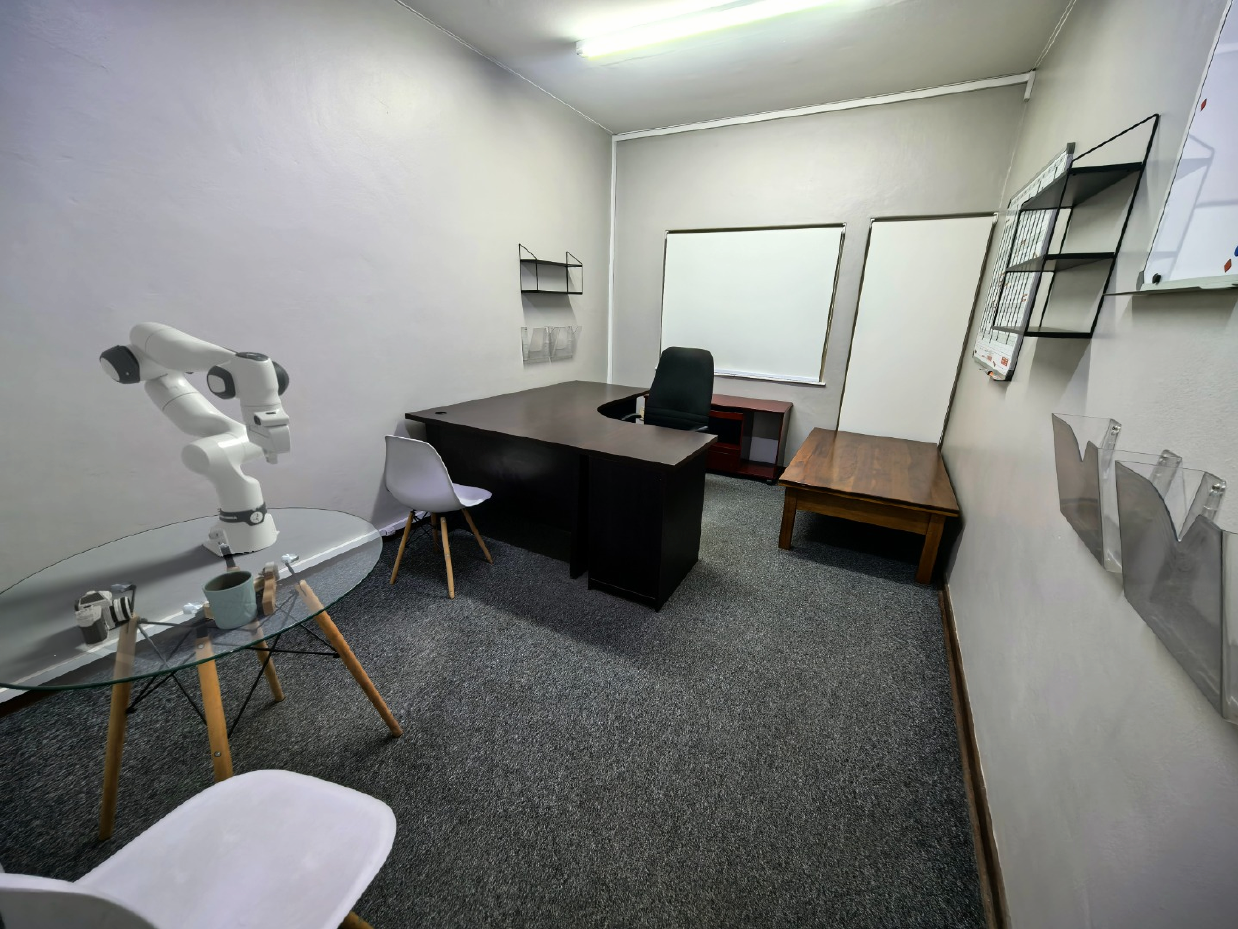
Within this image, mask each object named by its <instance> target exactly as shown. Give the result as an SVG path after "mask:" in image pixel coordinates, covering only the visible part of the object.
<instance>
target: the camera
mask: <svg viewBox="0 0 1238 929" xmlns="http://www.w3.org/2000/svg"><path fill="white" fill-rule="evenodd" d="M112 598H113V594H112V592H111V591H109V590H98V591H95V590H89V591H87V592H86V593H85V595H83V596H82V597H80V598H79V599H76V600H74V604H73V606H74V611H75V612H74V616H75V618H76V619H77V623H78V625H79V629H80V631H81V633H82V636H83V639H84V641H85V645H86V646H87V647H96V646H98V645H101V644H103V643H106V642H107V641H108V640H109V632H110V630H112V629H115V628H116V623H120V622H122V621H126V620H130V619H132V618H134V615H133V616H132V614H131V613H132V612H133V613H134V610H133V606H132V603H131V600H130V597H128V596H123V597H119V598H117V599H112ZM131 617H132V618H131Z"/></svg>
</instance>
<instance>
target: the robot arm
mask: <svg viewBox="0 0 1238 929" xmlns="http://www.w3.org/2000/svg"><path fill="white" fill-rule="evenodd" d="M128 336H129V341H130V342H128V343H124V344H121V345H119V344H117V345H115V346H112V347H110V348H108V349H105V350H104V351H102V352H101V354H100V355H99V363H100V365H101V367H102V370H103V372H105V374H106V375H108V377H110V378H111V379H112V380H113V381H115V382H117V383H120V384H122V385H131V384H139V383H140V382H144V385H143V386H144V391H145V393H146V394H147V396H148V397H149V399H150V400H151V401H152V402H153V404H154V405H155V406H156V408H158V410H159V411H161V413H162V414H163V415H165V417H167V419H168V420H170V421H171V422H172V423H173V425H175V426H176V428H178V429H179V430H180V431H181V432H183V433H184V434H185V435H186V434H187V435H189V436H193V437H199V439H197V440H194V441H191V442H190V443H188V444H186V445H184V446H183V447H182V449H181V454H180V458H181V461H182V464H183V465H184V466H185V467H186V469H187V470H189V471H190V472H192V473H195V474H197V475H200V476H203V477H204V478H206V480H208V481H209V482H210V483H211V485H212V486H213V488H214V491H215V493H216V495H217V499H218V502H219V507H220V508H217V509H216V511H217V513H219V514H218V515H219V516H218V517H219V518H218V520H217V521H216V522H215V523H214V524H213V525H211V527H210V528H209V533H208V535H207V536H208V539H206V540H204V541H203V542H202V546H203V547H205V549H208V550H209V551H211V552H213V554H216V556H219V557H221V552H220V549H219V547H218V546H219V545H221V544H222V543H224V544H227V546H229V547H230V548H231V549H232V550H233V552H249V553H253V552H252V551H254V552H256V551H260V550H263V549H266V548H268V547H270V546H272V545H274V543H275V542H276V541H277V539H278V534H279V533H280V530H277V528H276V525H275V521H274V519H273V516H272V514H270V513H268V508H267V505H266V502H265V501H264V498H263V493H262V489H261V484H260V482H259V480H257V479H256V478H255V477H252V476H250V475H247V474H246V475H245V474H244V472H243V471H242V469H241V466H243V465H245V464H249V463H251V462H256V461H258V460H260V459H261V458H264V457H265V461H266V463H267V464H270V465H277V464H278V463H279V459H278V456H279V455H282V454H287V453H290V452H291V450H292V440H291V431H290V428H289V424H291V420H290V419H291V418H290V416H289V415H288V414H287V413H286V411H285V410H284V408H283V405H282V400H281V398H280V396H282V395H283V394H284V393H285V392H286V391H287V389H288V388H289V385H290V376H289V374H288V372H287V371H286V369H284V368H283V367H282V365H280V364H279V363H277V361H274V360H272V359H271V358H270V357H269V356H268V355H266V354H263V353H262V352H261V353H260V352H253V351H252V352H251V351H241V352H238V351H235V350H233V349H230V348H227V347H224V346H223V347H222V346H221V345H217V344H214V343H211V342H208V341H205V340H202V339H200V338H198V337H194V336H193V335H190V334H188V333H186V332H184V331H181V330H179V329H177V328H174V327H173V326H169V325H167V324H163V323H159V322H155V321H142V322H140V323H137V324H135V325H134V326H133V327H132V328H131V329H130V331H129V335H128ZM199 372H200V373H201V372H202V373H203V372H205V373H206V372H207V374H206V383H207V387H208V389H209V391H210V392H211V393H212V394H213V395H214V396H216V397H217V398H220V399H221V400H224V401H225V400H226V401H237V400H239V406H240V412H241V415H242V421H243V423H245V424H243V423H242V422H239V421H237V420H235V419H232V418H231V417H229V416H227V415H225V413H223V412H222V411H220V410H219V409H218V408H216V407H215V405H213V404H212V403H211V402H210V401H209V400H208V399H207V398H206V397H205V396H204V395H203V394H202V393H201V392H200V391H199V390H198V389H196V388H195V387H194V386H193V385H191V383H190V382H189V381H188V380H187V378H186V376H185V373H186V374H188V375H193V374H194V373H199Z"/></svg>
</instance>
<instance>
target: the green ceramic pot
mask: <svg viewBox="0 0 1238 929" xmlns="http://www.w3.org/2000/svg"><path fill="white" fill-rule="evenodd" d="M253 580H254V574H253V572H251V571H250V570H243V569H242V570H240V569H239V570H232V571H227V572H224V573H221V574H217V575H215V576H212V577H211V578H210V579H208V580H207V581H205V582H204V583H203V584H202V586H201V589H202V591H203V594H204V597H205V598H206V600H207V602H208V603H209V607H210V609H211V612H212V613H213V617H214V619H213V621H214V623H215V625H216V626H217V628H218V629H221V630H231V629H237V628H240V627H242V626H245V625H247V624H249V623H252V621H253V620H255V619H256V617H257V616H258V613H259V611H258V604H257V603H256V602H257V601H256V600H257V599H256V598H257V597H256V593H255V591H254V581H253Z"/></svg>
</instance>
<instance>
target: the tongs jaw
mask: <svg viewBox="0 0 1238 929" xmlns="http://www.w3.org/2000/svg"><path fill="white" fill-rule="evenodd" d="M274 565H275V561H269V562H266V563H265V577H266V581H265V587H264V588H263V595H262V600H261V605H262V610H263V614H264V616H269V615H272V614H275V605H276V591H277V581H276V579H275V575H274V574H273V567H274Z"/></svg>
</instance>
